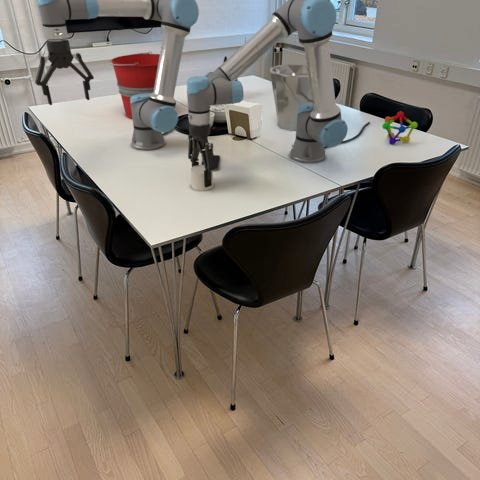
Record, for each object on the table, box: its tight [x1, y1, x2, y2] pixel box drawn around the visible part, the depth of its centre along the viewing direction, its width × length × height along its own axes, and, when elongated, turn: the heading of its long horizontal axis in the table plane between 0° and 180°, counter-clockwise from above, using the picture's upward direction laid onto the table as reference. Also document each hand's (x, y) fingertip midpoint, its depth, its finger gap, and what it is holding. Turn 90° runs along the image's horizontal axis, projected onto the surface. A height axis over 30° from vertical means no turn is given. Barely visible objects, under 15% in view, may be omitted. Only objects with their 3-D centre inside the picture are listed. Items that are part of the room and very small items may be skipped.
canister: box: [190, 164, 214, 192], centre depth 167 cm, size 8×8×7 cm
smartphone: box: [201, 154, 221, 171], centre depth 188 cm, size 7×1×15 cm
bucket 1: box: [107, 51, 160, 120], centre depth 242 cm, size 35×35×30 cm
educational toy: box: [382, 110, 418, 145], centre depth 207 cm, size 16×13×15 cm
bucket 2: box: [269, 63, 312, 131], centre depth 226 cm, size 30×30×28 cm
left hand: (69, 101), depth 165 cm, fingers open, 13 cm apart
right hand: (202, 182), depth 168 cm, fingers closed on canister, 8 cm apart
